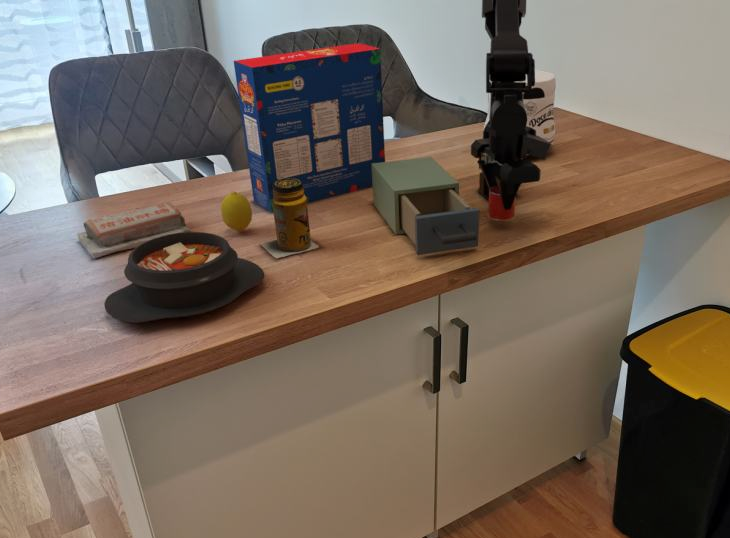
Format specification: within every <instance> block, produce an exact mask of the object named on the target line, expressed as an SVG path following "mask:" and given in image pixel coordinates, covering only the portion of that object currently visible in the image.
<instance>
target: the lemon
mask: <svg viewBox="0 0 730 538" xmlns="http://www.w3.org/2000/svg"><path fill="white" fill-rule="evenodd" d="M220 207H221V208H220V213H221V217H222V220H223V223H224V224H225V225H226V226H227V227H228V228H229V229H231V230H235V231H236V232H238V233H242V231H243V230H245V229H246V228H247V227H249V226H250V224H251V223H252V218H253V210H252V206H251V204H250V202H249V200H248V198H247V197H246V196H245V195H243V194H241V193H239V192H236V191H231V193H229V194H226V196H225V197H224V198H223V199H222V202H221V206H220Z"/></svg>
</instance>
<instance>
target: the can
mask: <svg viewBox="0 0 730 538" xmlns="http://www.w3.org/2000/svg"><path fill="white" fill-rule="evenodd" d="M516 198H517V197H515V199H514V202H513V204H512V207H511V209H510V210H505V209H504V206H503V203H502V199H501V195H500V192H499V188H498V186H493V187H491V188H490V189H489V200H488V210H487V211H488V213H487V217H488V219H490V220H492V221H495V222H509V221H512V220H514V219H515V217H516V200H517V199H516Z"/></svg>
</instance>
